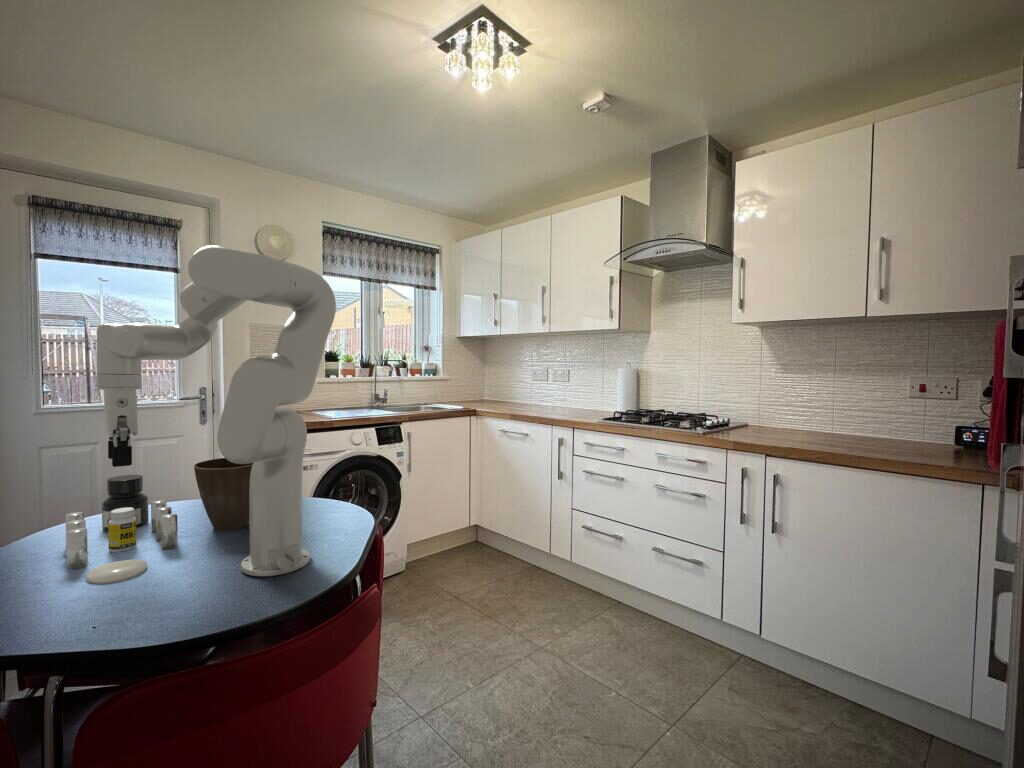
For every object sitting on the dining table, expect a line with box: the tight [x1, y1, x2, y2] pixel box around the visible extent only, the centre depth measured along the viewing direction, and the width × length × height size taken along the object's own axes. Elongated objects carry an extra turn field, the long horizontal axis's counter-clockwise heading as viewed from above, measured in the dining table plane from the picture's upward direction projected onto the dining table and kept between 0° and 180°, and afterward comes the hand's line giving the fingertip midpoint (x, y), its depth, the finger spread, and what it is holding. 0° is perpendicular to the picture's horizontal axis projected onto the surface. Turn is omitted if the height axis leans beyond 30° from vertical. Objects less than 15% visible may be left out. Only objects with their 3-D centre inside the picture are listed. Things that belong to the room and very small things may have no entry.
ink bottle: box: [101, 474, 149, 532], centre depth 121 cm, size 10×9×12 cm
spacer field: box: [65, 499, 179, 570], centre depth 108 cm, size 17×18×7 cm
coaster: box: [86, 559, 148, 585], centre depth 95 cm, size 9×9×1 cm
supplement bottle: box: [107, 507, 137, 553], centre depth 107 cm, size 5×5×8 cm
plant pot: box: [193, 457, 254, 532], centre depth 122 cm, size 15×15×16 cm
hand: (119, 461), depth 106 cm, fingers open, 9 cm apart
